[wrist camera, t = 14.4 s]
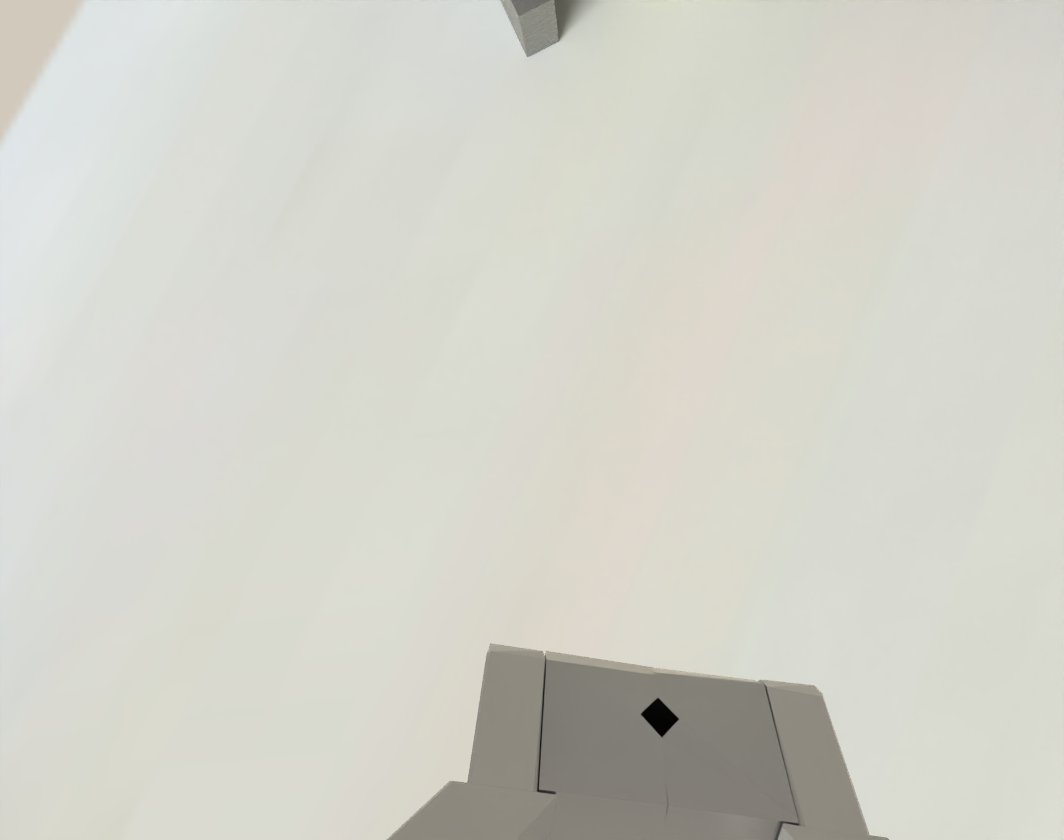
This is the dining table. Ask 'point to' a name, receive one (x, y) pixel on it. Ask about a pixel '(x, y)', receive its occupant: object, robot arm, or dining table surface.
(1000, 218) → the dining table surface
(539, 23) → the receiver bay
